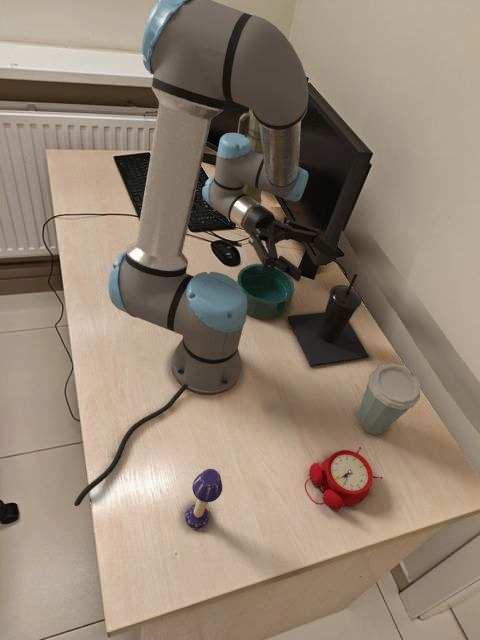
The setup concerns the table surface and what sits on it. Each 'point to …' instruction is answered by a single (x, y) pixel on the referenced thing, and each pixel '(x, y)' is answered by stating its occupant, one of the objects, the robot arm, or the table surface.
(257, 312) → the green bowl
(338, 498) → the alarm clock
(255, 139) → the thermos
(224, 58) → the robot arm
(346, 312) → the drinking cup
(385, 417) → the disposable coffee cup
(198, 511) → the toy lamp
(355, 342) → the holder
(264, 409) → the table surface
